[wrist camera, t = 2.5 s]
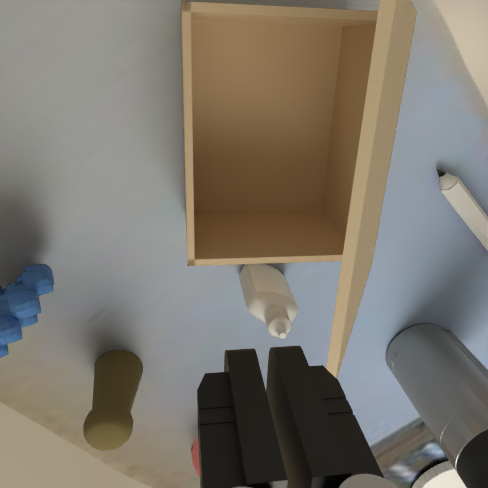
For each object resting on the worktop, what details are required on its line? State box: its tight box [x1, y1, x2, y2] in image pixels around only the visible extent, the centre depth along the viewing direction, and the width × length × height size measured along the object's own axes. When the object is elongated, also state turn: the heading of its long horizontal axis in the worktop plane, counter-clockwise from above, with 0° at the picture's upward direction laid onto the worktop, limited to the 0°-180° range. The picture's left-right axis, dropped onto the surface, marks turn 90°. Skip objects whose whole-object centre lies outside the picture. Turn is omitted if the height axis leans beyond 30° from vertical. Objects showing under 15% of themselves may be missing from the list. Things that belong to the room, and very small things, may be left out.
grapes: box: [0, 264, 54, 358], centre depth 43 cm, size 12×7×12 cm, turn 139°
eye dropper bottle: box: [239, 263, 298, 339], centre depth 47 cm, size 4×6×12 cm
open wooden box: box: [181, 1, 378, 266], centre depth 40 cm, size 16×20×12 cm
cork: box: [84, 350, 143, 450], centre depth 51 cm, size 6×6×11 cm
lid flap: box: [326, 0, 417, 379], centre depth 28 cm, size 17×20×1 cm
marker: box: [436, 166, 488, 251], centre depth 52 cm, size 3×2×16 cm
